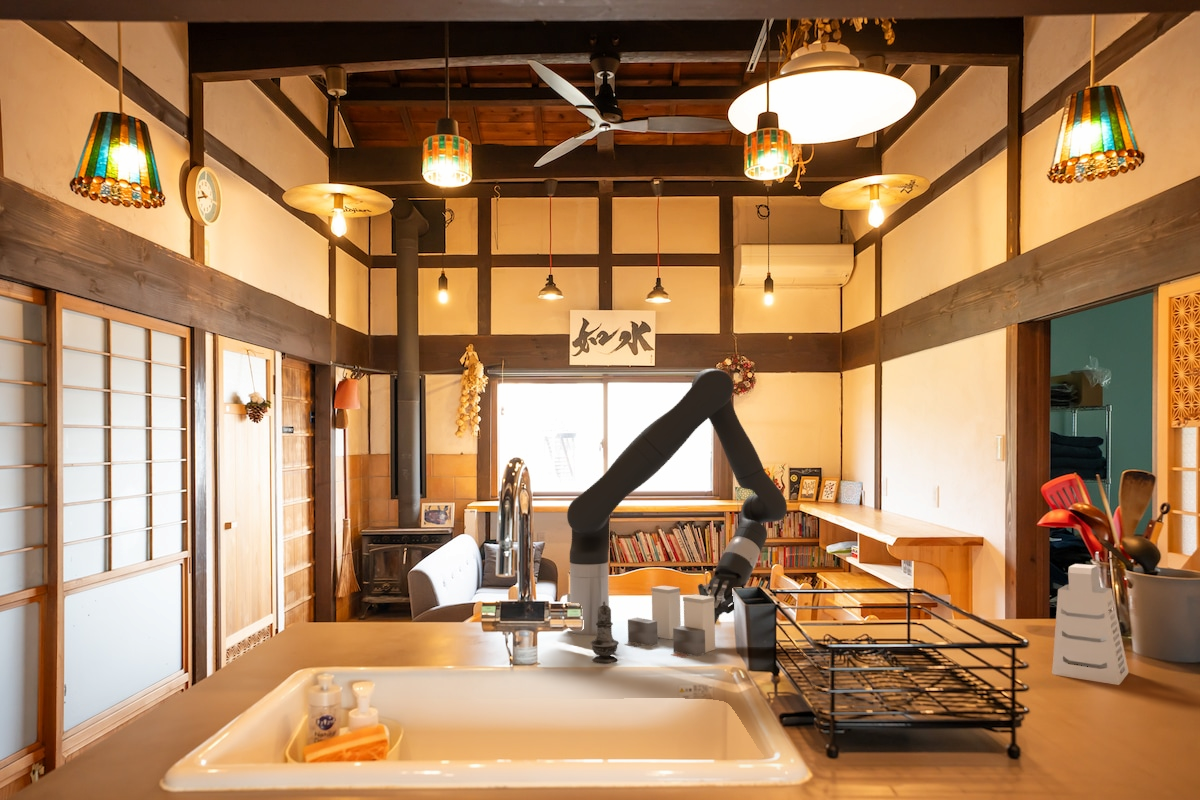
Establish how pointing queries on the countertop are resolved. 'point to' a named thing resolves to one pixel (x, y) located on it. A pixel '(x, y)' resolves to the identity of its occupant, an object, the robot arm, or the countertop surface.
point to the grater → (1087, 630)
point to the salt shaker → (604, 637)
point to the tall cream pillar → (666, 609)
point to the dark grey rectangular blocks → (683, 637)
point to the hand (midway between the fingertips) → (706, 625)
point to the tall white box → (701, 617)
